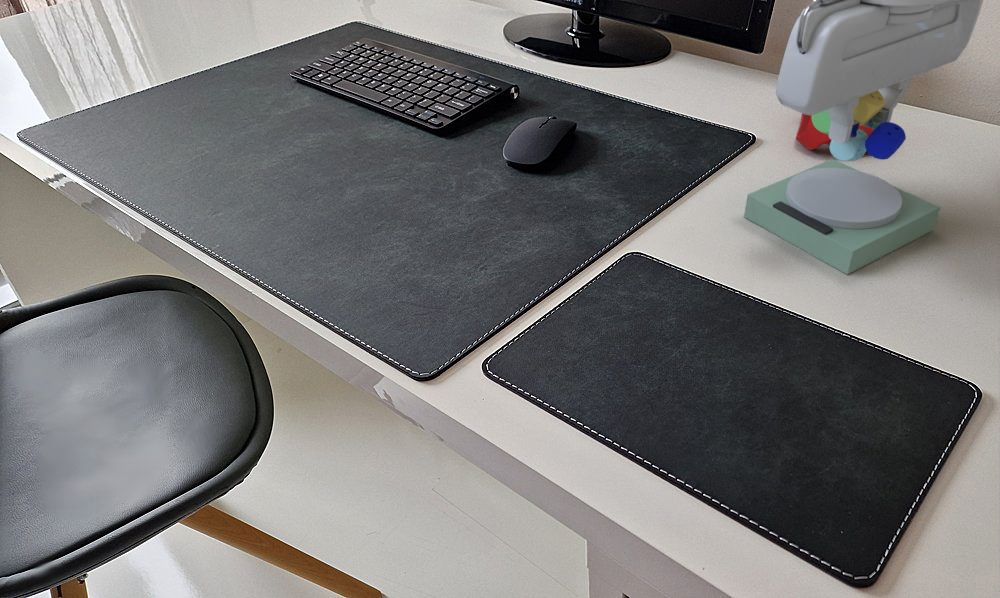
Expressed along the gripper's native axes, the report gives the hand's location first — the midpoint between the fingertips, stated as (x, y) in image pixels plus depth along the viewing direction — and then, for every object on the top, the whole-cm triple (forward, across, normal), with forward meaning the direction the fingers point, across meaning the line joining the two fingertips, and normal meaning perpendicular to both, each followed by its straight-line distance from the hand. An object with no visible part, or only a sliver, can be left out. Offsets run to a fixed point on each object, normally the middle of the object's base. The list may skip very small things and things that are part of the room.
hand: (858, 132), depth 69 cm
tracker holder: (+10, +15, +12) cm, 22 cm away
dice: (+2, 0, 0) cm, 3 cm away
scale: (+9, 0, 0) cm, 9 cm away
